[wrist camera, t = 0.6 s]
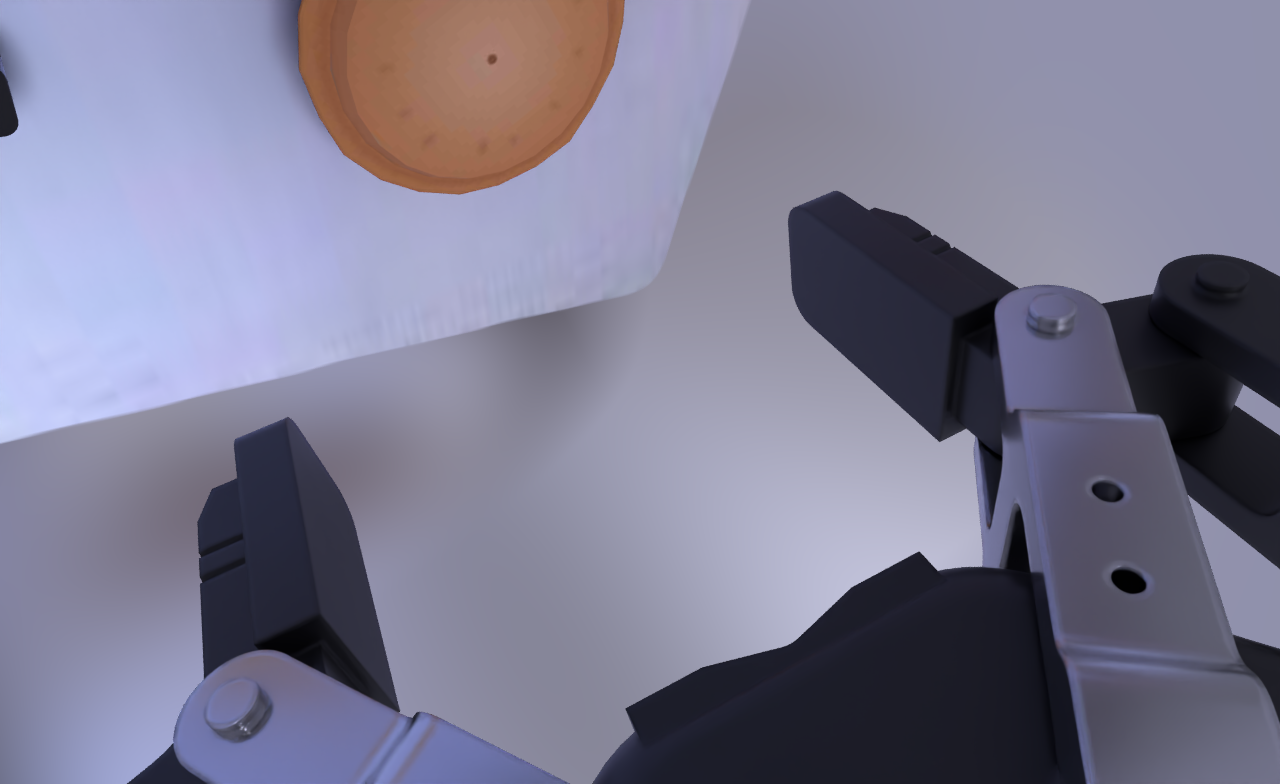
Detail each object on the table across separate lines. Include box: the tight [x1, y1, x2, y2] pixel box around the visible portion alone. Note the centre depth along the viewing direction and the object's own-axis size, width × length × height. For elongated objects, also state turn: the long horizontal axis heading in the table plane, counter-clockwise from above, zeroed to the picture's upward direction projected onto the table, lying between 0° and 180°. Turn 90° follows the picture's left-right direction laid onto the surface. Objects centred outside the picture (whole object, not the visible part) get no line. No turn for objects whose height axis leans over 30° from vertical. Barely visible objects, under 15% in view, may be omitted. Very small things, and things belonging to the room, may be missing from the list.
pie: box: [298, 0, 625, 194], centre depth 37 cm, size 15×16×5 cm
